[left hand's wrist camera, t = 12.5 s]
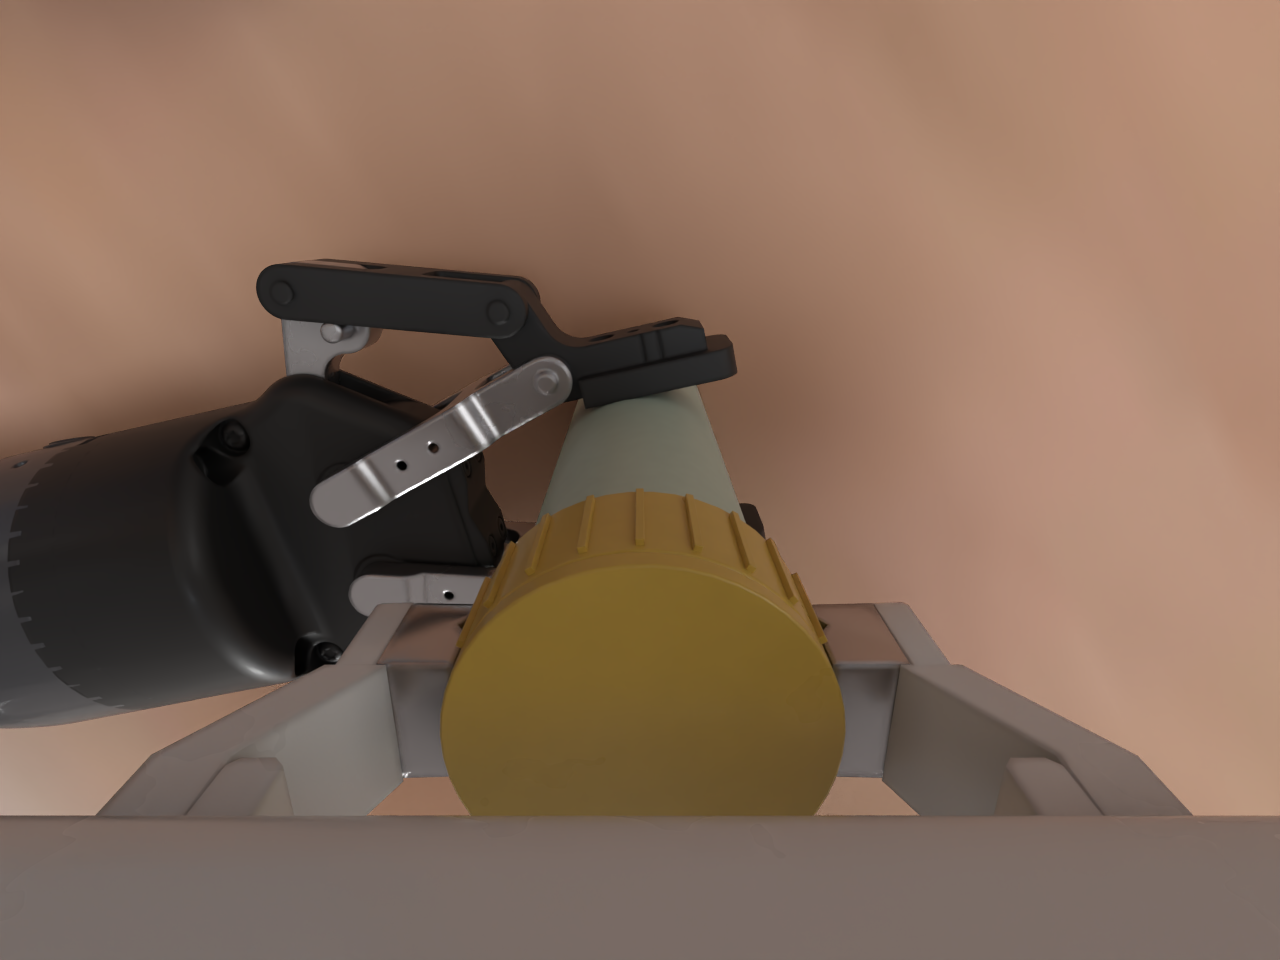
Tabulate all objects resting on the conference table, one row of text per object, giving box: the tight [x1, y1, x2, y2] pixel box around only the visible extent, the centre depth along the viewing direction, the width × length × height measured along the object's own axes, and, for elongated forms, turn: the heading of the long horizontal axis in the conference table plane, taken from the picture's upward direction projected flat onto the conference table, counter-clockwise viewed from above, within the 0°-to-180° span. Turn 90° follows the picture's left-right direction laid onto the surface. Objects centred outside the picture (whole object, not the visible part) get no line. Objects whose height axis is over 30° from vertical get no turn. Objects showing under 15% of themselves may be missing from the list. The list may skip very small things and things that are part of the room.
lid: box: [440, 488, 846, 816], centre depth 9 cm, size 5×5×2 cm
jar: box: [535, 385, 746, 526], centre depth 16 cm, size 4×4×16 cm
